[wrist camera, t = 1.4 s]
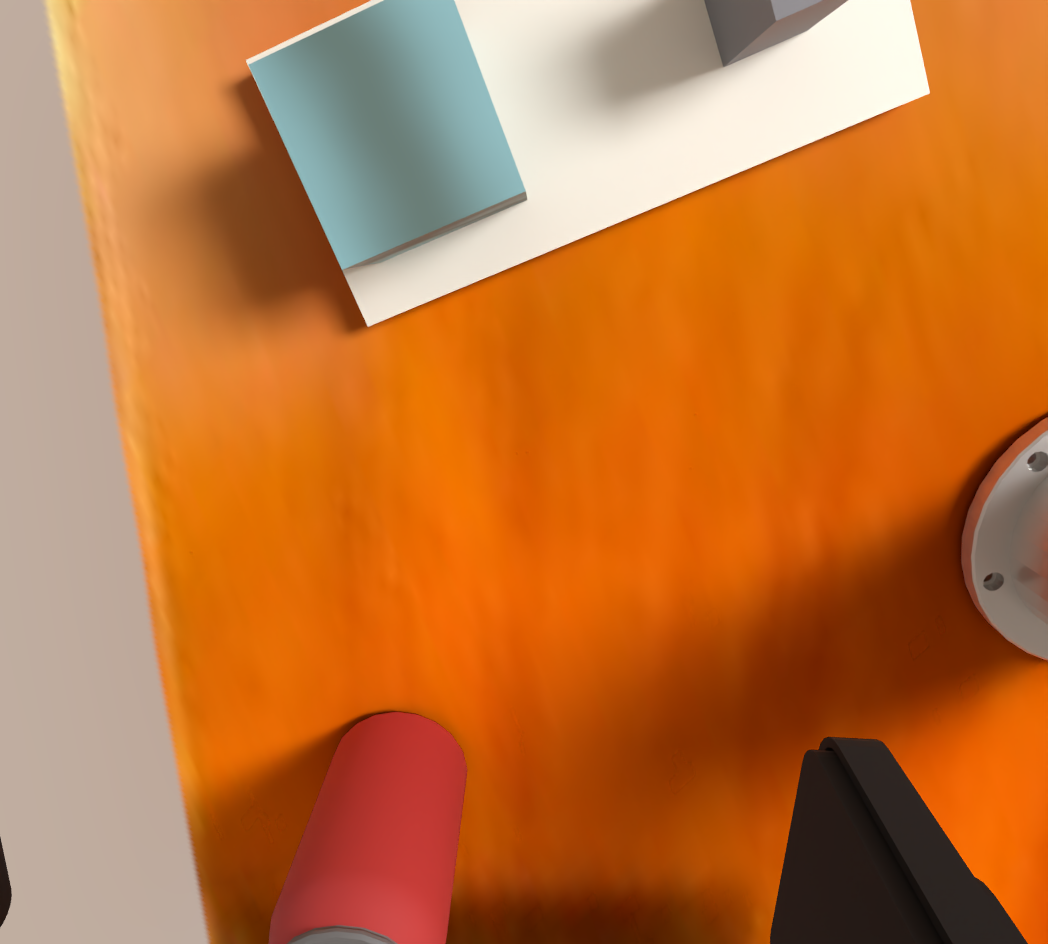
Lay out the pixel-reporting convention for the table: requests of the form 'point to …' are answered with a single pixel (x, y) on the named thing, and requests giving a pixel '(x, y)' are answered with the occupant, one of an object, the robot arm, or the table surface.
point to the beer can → (379, 840)
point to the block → (390, 128)
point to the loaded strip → (645, 112)
